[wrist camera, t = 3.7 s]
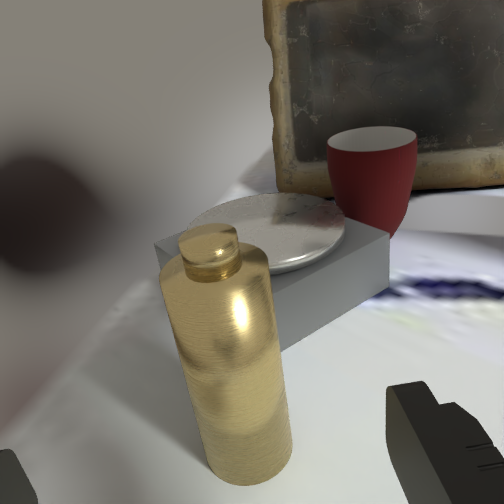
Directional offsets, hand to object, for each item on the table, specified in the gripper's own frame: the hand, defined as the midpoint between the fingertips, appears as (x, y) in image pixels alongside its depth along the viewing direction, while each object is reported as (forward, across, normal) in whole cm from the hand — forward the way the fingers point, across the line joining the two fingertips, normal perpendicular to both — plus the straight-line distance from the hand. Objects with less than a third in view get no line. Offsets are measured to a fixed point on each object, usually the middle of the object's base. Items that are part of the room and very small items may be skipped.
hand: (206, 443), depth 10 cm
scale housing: (+28, -4, +14) cm, 31 cm away
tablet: (+47, -24, +14) cm, 55 cm away
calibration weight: (+12, 0, +14) cm, 18 cm away
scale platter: (+27, -4, +8) cm, 29 cm away
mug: (+35, -15, +14) cm, 41 cm away
